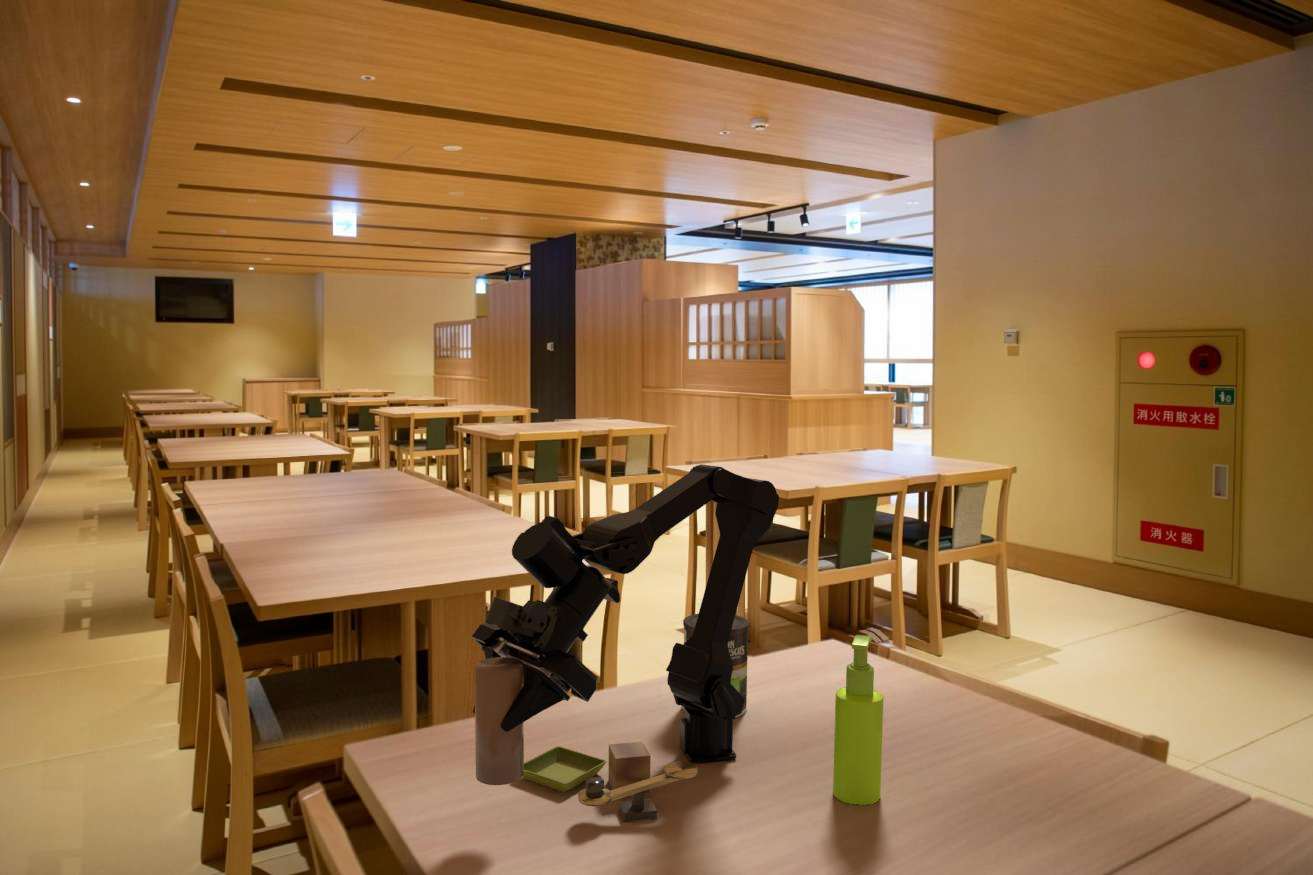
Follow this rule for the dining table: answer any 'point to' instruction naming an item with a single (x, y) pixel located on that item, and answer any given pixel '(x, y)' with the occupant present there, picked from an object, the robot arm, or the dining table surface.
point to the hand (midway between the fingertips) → (489, 721)
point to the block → (628, 764)
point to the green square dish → (562, 768)
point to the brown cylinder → (497, 721)
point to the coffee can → (731, 652)
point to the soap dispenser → (858, 732)
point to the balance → (635, 792)
